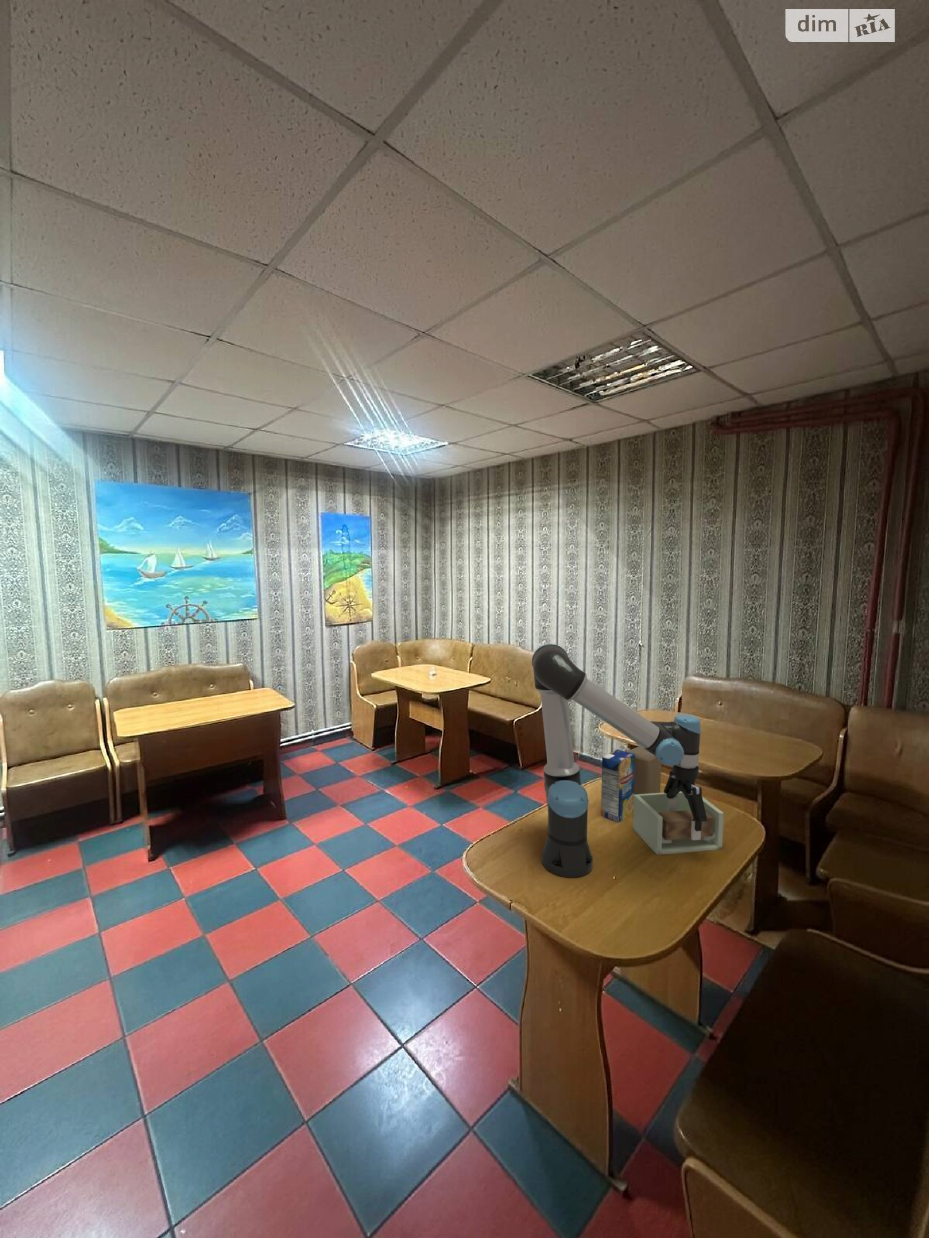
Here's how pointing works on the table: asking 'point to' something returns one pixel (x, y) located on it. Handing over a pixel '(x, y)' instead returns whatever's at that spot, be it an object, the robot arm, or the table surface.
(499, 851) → the table surface
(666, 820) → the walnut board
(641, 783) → the wooden block
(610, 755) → the beverage box
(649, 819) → the open storage box
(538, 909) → the table surface
